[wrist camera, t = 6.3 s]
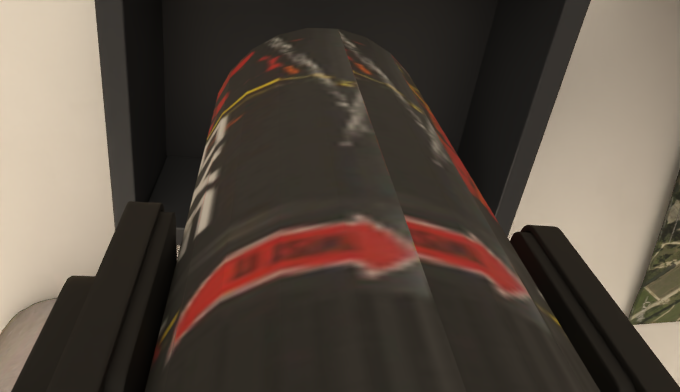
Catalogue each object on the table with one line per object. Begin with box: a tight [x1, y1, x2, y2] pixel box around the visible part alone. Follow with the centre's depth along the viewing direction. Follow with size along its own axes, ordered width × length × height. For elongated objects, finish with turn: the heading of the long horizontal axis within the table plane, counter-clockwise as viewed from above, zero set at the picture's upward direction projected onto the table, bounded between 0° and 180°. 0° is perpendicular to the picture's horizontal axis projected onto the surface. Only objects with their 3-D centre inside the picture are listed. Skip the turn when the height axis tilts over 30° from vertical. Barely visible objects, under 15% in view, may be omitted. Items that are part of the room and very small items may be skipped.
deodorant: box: [145, 28, 600, 392], centre depth 9 cm, size 6×6×15 cm
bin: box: [95, 0, 591, 245], centre depth 21 cm, size 15×13×6 cm
